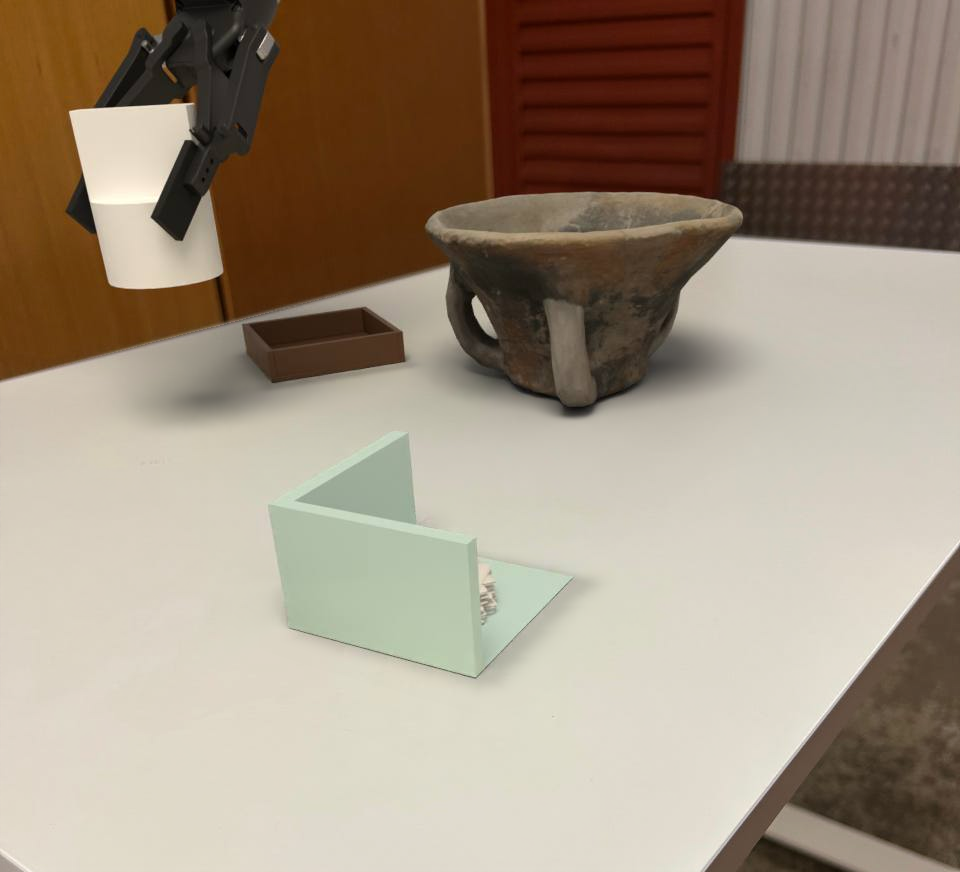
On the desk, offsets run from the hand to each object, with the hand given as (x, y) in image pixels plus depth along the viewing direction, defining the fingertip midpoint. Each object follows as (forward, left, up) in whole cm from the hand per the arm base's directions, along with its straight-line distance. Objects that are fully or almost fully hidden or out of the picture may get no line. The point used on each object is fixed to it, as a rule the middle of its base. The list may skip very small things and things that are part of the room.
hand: (122, 226), depth 75 cm
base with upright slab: (0, +3, -4) cm, 5 cm away
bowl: (+24, +29, -17) cm, 41 cm away
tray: (-4, +25, -17) cm, 30 cm away
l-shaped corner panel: (+36, -13, -17) cm, 42 cm away
